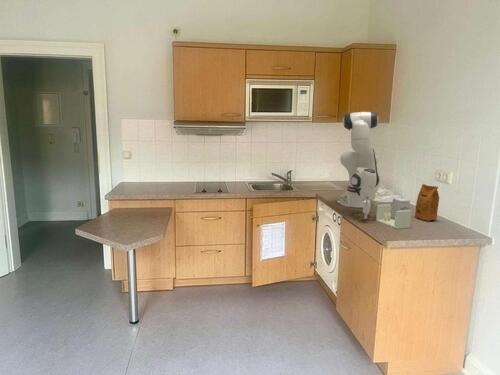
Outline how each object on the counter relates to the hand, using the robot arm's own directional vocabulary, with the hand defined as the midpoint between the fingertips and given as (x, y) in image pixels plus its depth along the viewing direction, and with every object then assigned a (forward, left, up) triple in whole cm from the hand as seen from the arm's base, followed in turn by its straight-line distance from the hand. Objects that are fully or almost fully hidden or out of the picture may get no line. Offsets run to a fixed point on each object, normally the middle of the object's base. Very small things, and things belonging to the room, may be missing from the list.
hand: (366, 217), depth 223 cm
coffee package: (+9, +39, -2) cm, 40 cm away
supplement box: (+4, +23, -2) cm, 23 cm away
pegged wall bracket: (+13, +9, -2) cm, 16 cm away
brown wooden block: (0, 0, -2) cm, 2 cm away
